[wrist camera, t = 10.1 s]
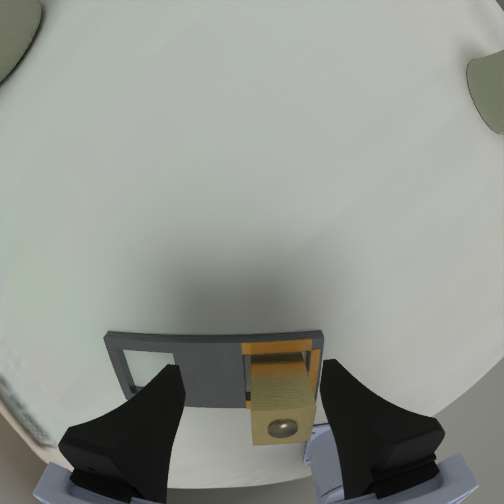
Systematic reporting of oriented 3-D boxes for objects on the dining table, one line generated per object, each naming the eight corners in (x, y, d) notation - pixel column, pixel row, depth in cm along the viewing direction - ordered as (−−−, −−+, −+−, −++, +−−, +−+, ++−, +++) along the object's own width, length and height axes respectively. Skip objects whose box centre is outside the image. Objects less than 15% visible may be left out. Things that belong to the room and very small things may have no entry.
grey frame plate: (313, 395, 25) (316, 403, 24) (129, 392, 25) (125, 400, 24) (320, 330, 23) (324, 338, 21) (108, 331, 23) (102, 338, 22)
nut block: (297, 383, 24) (310, 443, 17) (252, 386, 24) (252, 447, 17) (300, 348, 23) (317, 408, 16) (250, 350, 23) (250, 413, 16)
